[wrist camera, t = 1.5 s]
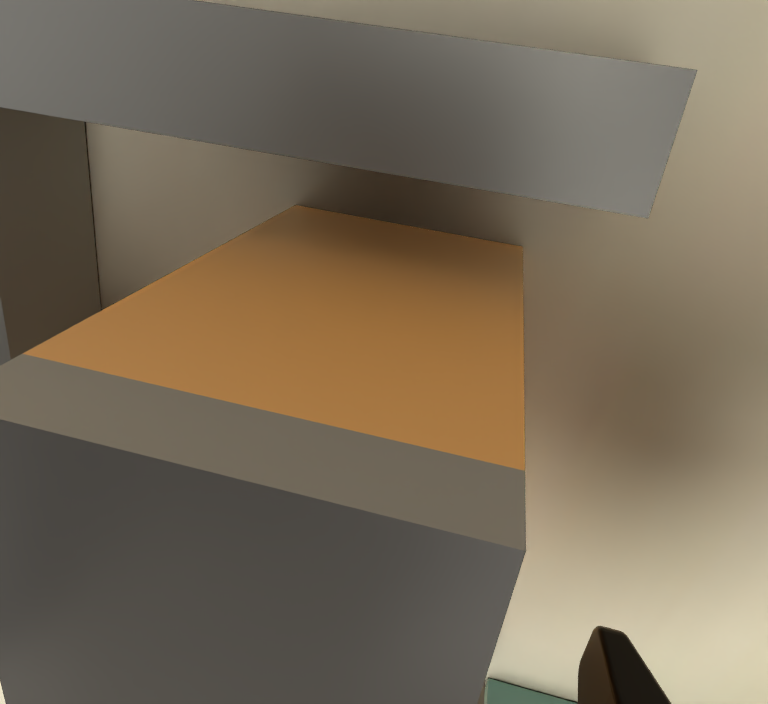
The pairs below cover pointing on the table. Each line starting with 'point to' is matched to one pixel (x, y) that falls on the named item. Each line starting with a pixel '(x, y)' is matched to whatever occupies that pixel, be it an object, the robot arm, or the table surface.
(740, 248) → the table surface
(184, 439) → the grey and orange block
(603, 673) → the robot arm
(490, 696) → the tray
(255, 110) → the bay
